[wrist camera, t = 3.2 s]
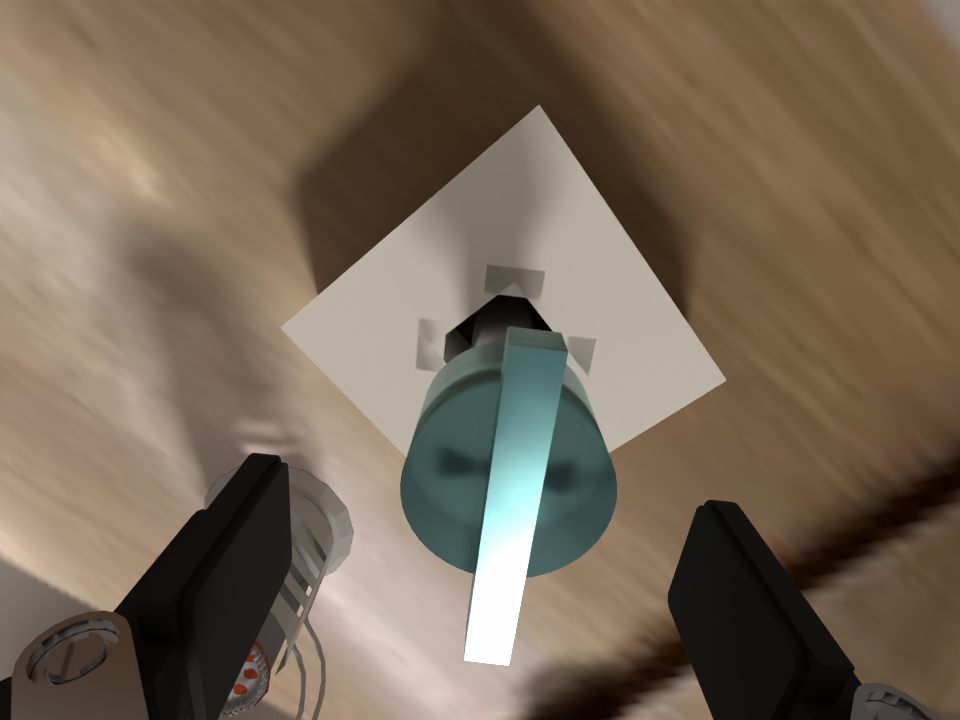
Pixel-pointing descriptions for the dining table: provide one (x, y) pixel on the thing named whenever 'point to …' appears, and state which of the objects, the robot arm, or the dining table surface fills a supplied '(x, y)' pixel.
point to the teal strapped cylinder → (507, 469)
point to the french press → (294, 585)
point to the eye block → (514, 272)
